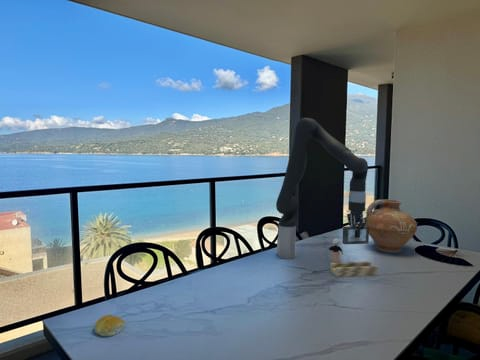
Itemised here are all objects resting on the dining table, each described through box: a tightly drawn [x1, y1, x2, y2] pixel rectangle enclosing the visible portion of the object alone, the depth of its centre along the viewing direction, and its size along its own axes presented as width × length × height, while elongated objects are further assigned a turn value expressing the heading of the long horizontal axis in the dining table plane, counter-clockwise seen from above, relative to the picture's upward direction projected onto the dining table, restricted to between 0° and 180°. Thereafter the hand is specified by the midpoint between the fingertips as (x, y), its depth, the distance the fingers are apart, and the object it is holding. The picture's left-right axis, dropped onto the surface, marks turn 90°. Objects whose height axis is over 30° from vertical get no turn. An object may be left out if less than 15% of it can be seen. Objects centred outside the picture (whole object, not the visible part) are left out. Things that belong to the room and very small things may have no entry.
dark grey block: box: [341, 225, 370, 245], centre depth 151 cm, size 12×3×8 cm, turn 100°
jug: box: [364, 199, 418, 254], centre depth 186 cm, size 28×28×30 cm
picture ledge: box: [329, 261, 379, 278], centre depth 151 cm, size 20×8×4 cm, turn 98°
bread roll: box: [94, 314, 126, 338], centre depth 101 cm, size 8×9×4 cm
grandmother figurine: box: [327, 238, 344, 263], centre depth 164 cm, size 8×4×13 cm, turn 84°
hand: (355, 236), depth 151 cm, fingers closed on dark grey block, 2 cm apart
